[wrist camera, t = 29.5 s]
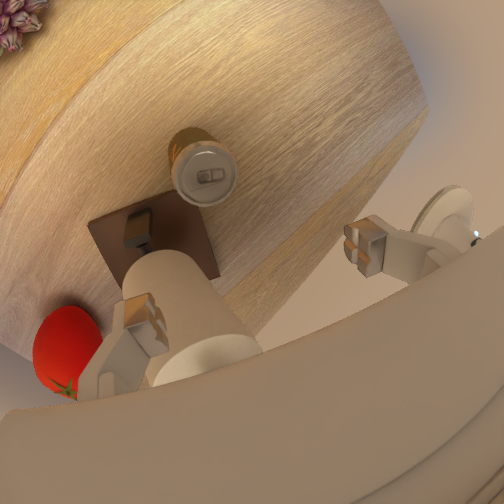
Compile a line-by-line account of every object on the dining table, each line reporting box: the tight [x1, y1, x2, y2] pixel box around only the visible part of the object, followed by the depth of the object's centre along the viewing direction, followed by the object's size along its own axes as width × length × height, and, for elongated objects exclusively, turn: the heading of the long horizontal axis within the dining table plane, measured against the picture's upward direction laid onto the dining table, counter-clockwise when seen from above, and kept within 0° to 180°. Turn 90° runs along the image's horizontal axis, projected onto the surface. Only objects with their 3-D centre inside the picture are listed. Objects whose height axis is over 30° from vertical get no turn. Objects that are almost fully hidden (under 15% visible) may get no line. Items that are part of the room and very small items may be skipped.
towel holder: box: [122, 242, 263, 387], centre depth 23 cm, size 22×9×9 cm
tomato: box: [33, 305, 103, 401], centre depth 31 cm, size 13×11×14 cm
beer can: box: [168, 128, 238, 207], centre depth 25 cm, size 5×5×12 cm
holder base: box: [87, 190, 220, 289], centre depth 32 cm, size 14×14×8 cm
